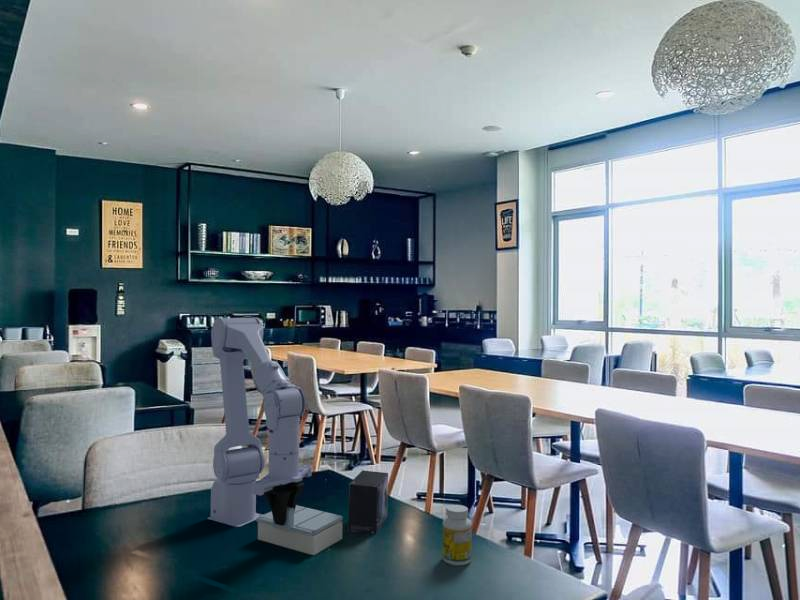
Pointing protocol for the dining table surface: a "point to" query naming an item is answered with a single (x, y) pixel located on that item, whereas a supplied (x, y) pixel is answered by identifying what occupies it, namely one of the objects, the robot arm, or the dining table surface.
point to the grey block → (301, 538)
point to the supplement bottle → (457, 536)
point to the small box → (368, 502)
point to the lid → (302, 520)
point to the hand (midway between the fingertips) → (283, 522)
